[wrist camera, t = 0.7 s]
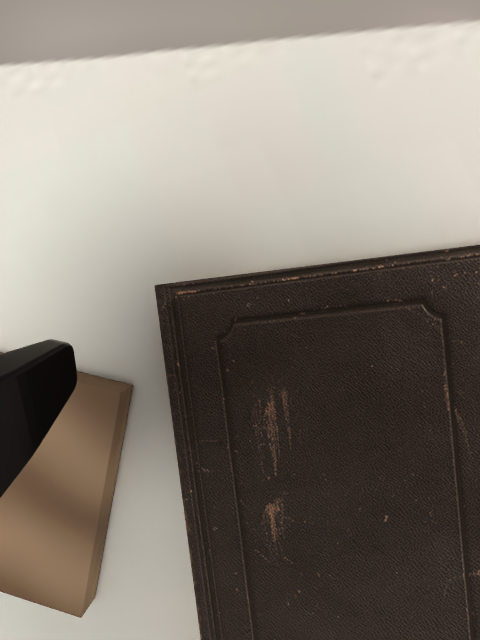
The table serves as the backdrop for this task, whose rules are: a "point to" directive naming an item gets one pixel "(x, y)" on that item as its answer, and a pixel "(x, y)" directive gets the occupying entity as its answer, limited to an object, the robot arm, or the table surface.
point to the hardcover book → (331, 447)
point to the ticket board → (65, 501)
